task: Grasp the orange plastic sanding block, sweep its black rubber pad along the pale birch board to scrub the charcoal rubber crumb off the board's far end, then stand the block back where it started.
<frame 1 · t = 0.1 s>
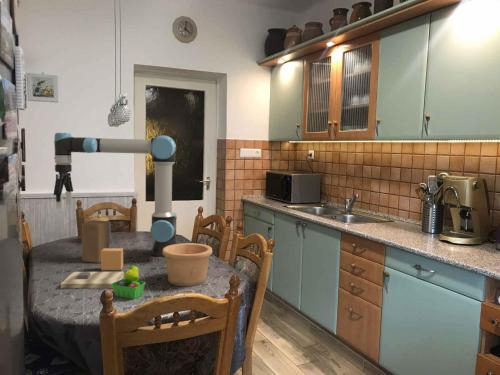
hand: (64, 206, 201), 28 cm above the table, fingers open, 13 cm apart
fruit basket: (129, 295, 159), on the table
eraser crumb: (84, 277, 172), point 2 cm above the table, touching birch board
wooden block: (95, 260, 205), on the table
pottery: (187, 280, 178), on the table
sanding block: (112, 270, 190), on the table
canister: (99, 242, 243), on the table
birch board: (93, 281, 173), on the table
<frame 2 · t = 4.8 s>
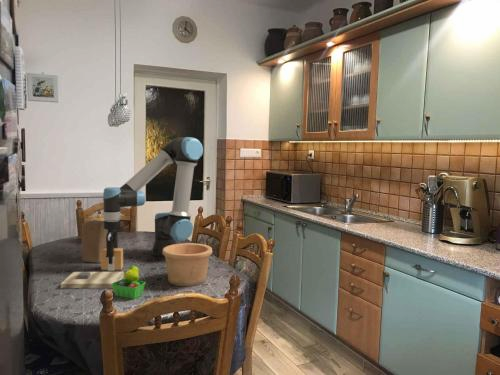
hand: (112, 268, 190), 1 cm above the table, fingers closed on sanding block, 5 cm apart
sanding block: (112, 270, 190), on the table, touching gripper
everything else where it was.
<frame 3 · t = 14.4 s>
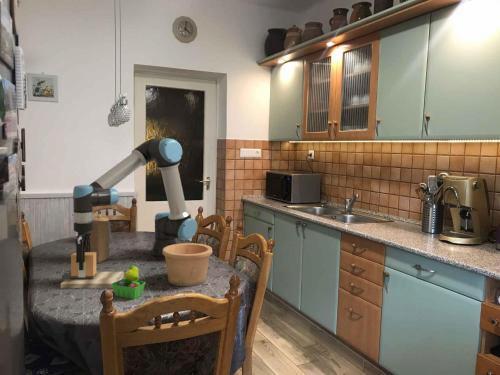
hand: (83, 274, 172), 3 cm above the table, fingers closed on sanding block, 5 cm apart
eraser crumb: (68, 277, 171), point 2 cm above the table, touching birch board, sanding block
sanding block: (84, 276, 172), point 3 cm above the table, touching eraser crumb, gripper
everything else where it was.
when the fingers open (2 cm above the table, at t = 25.5 s): sanding block drops 1 cm, on the table.
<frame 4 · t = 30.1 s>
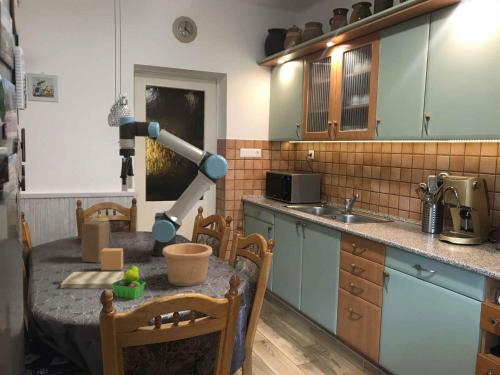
hand: (127, 190, 203), 37 cm above the table, fingers open, 13 cm apart
eraser crumb: (61, 283, 171), on the table
sanding block: (112, 270, 190), on the table
everything else where it was.
at the end: eraser crumb inside the target area (7.7 cm from its centre), on the table; sanding block inside the target area (0.1 cm from its centre), on the table; sanding block tilted 0° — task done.
